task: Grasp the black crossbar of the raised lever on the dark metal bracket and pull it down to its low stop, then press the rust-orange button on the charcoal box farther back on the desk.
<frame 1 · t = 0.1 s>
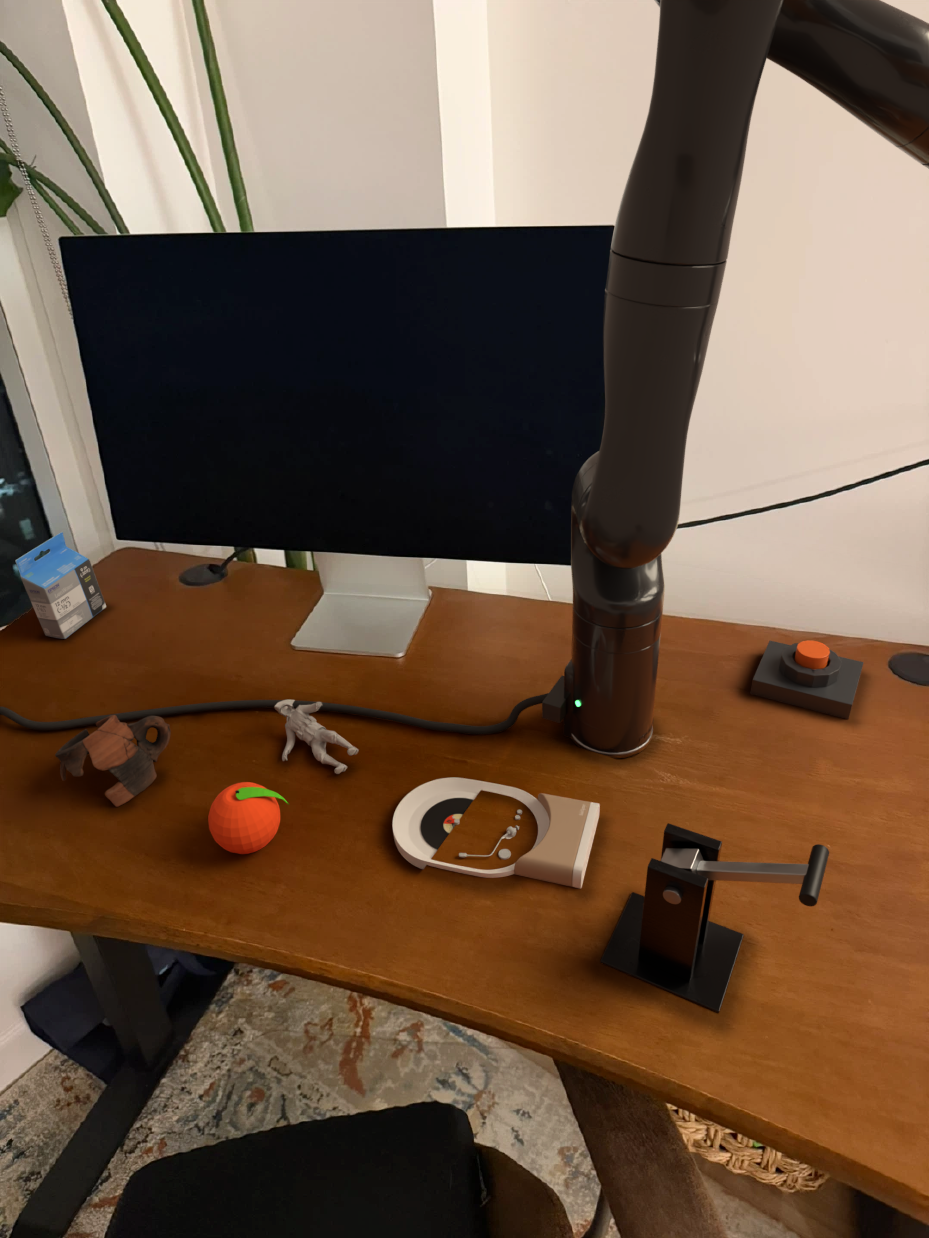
bracket: (671, 955, 72), on the table
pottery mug: (125, 775, 95), on the table
button: (812, 655, 100), point 4 cm above the table, slide at 0.1 cm
label tape box: (76, 623, 123), on the table
lever: (740, 871, 64), point 13 cm above the table, hinge at 25.0°
button box: (805, 685, 102), on the table
record player: (491, 838, 85), on the table
soldier figure: (317, 749, 97), on the table
clementine: (256, 842, 86), on the table
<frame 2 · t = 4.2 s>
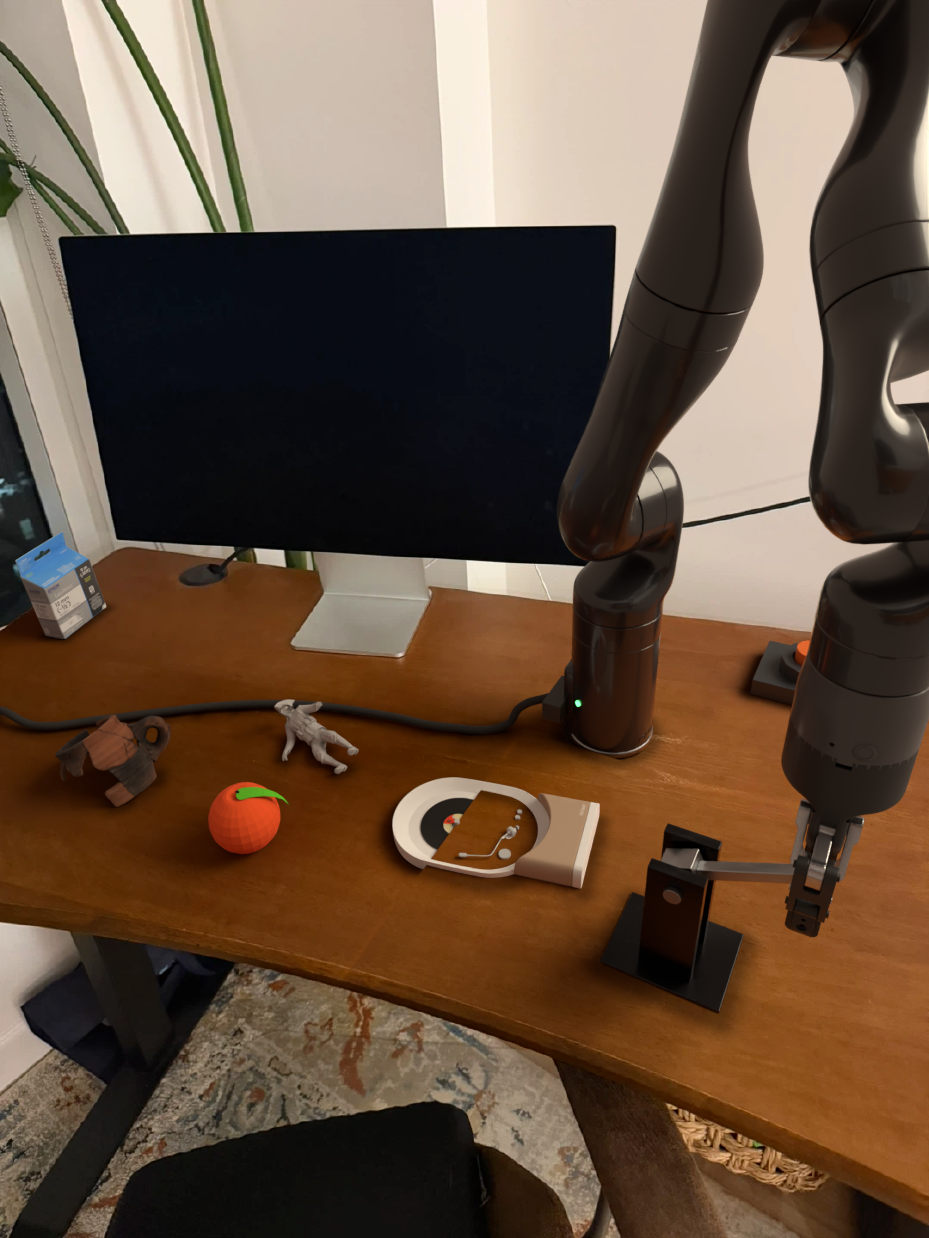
hand: (808, 899, 62), 13 cm above the table, tool pointing down, fingers closed on lever, 5 cm apart
lever: (740, 871, 64), point 13 cm above the table, hinge at 25.0°, touching gripper
everything else where it was.
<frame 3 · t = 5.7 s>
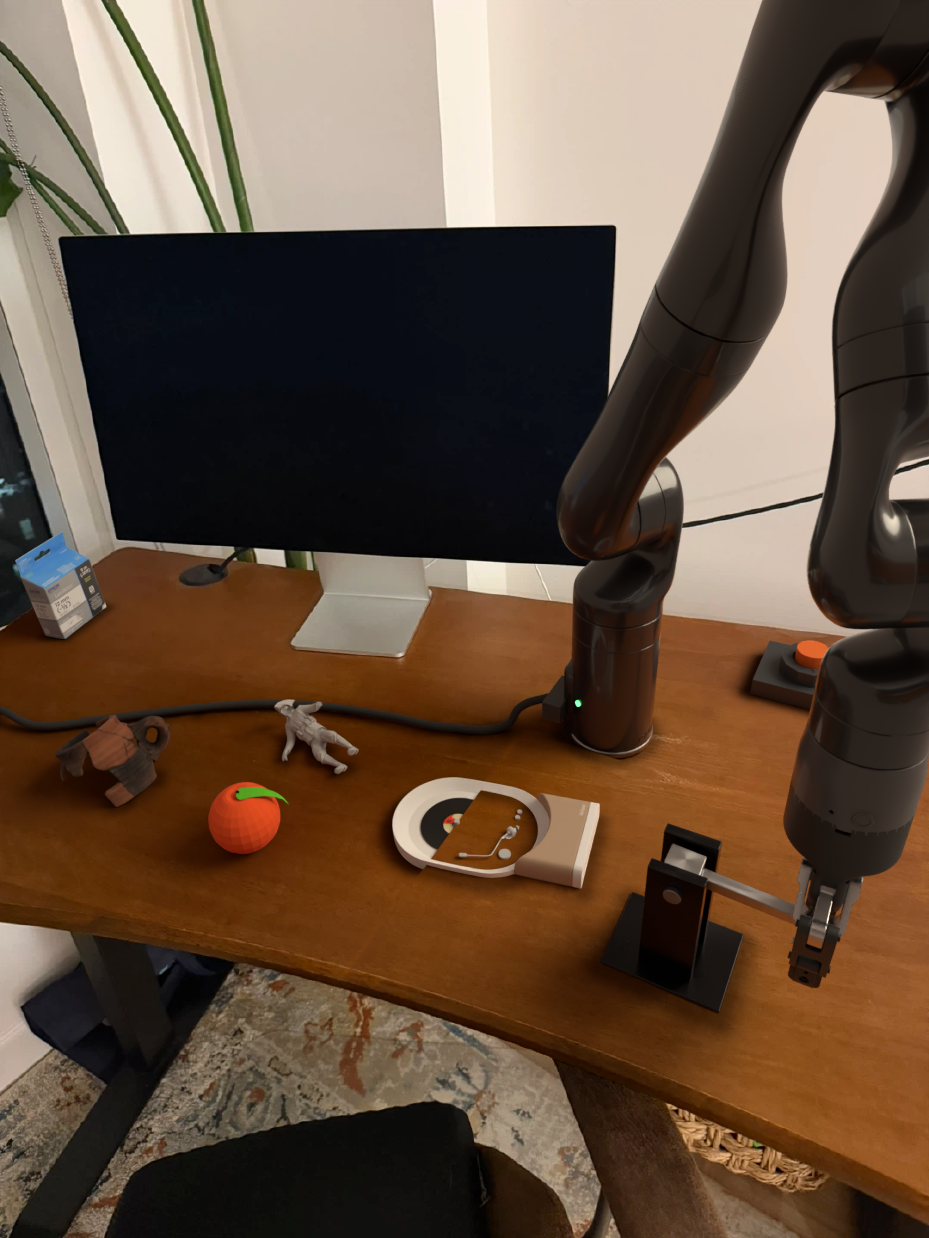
hand: (810, 949, 64), 7 cm above the table, tool pointing down, fingers closed on lever, 5 cm apart
lever: (742, 893, 65), point 11 cm above the table, hinge at -3.7°, touching gripper
everything else where it was.
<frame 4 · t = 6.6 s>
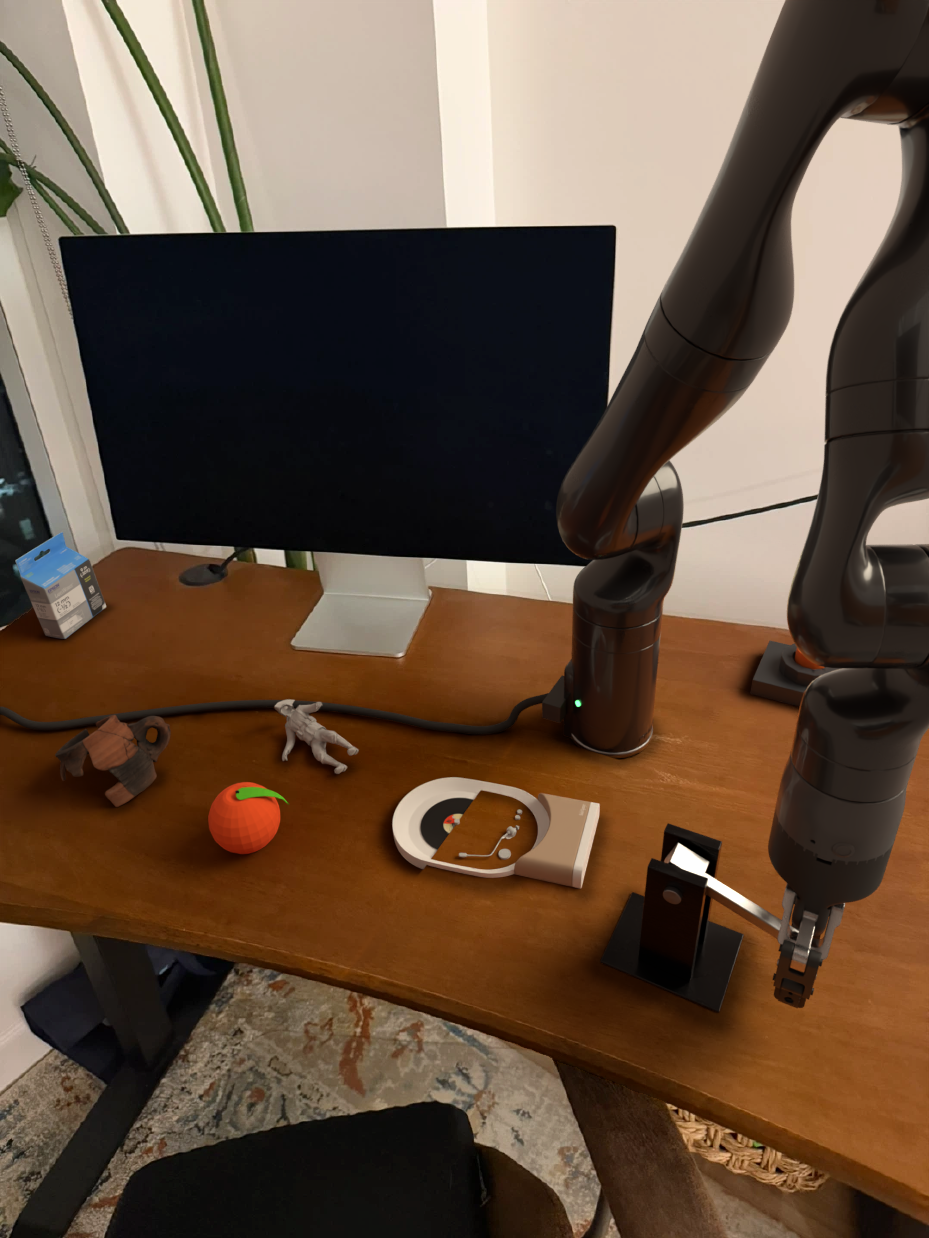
hand: (796, 969, 66), 4 cm above the table, tool pointing down, fingers closed on lever, 5 cm apart
lever: (736, 902, 65), point 9 cm above the table, hinge at -19.8°, touching gripper
everything else where it was.
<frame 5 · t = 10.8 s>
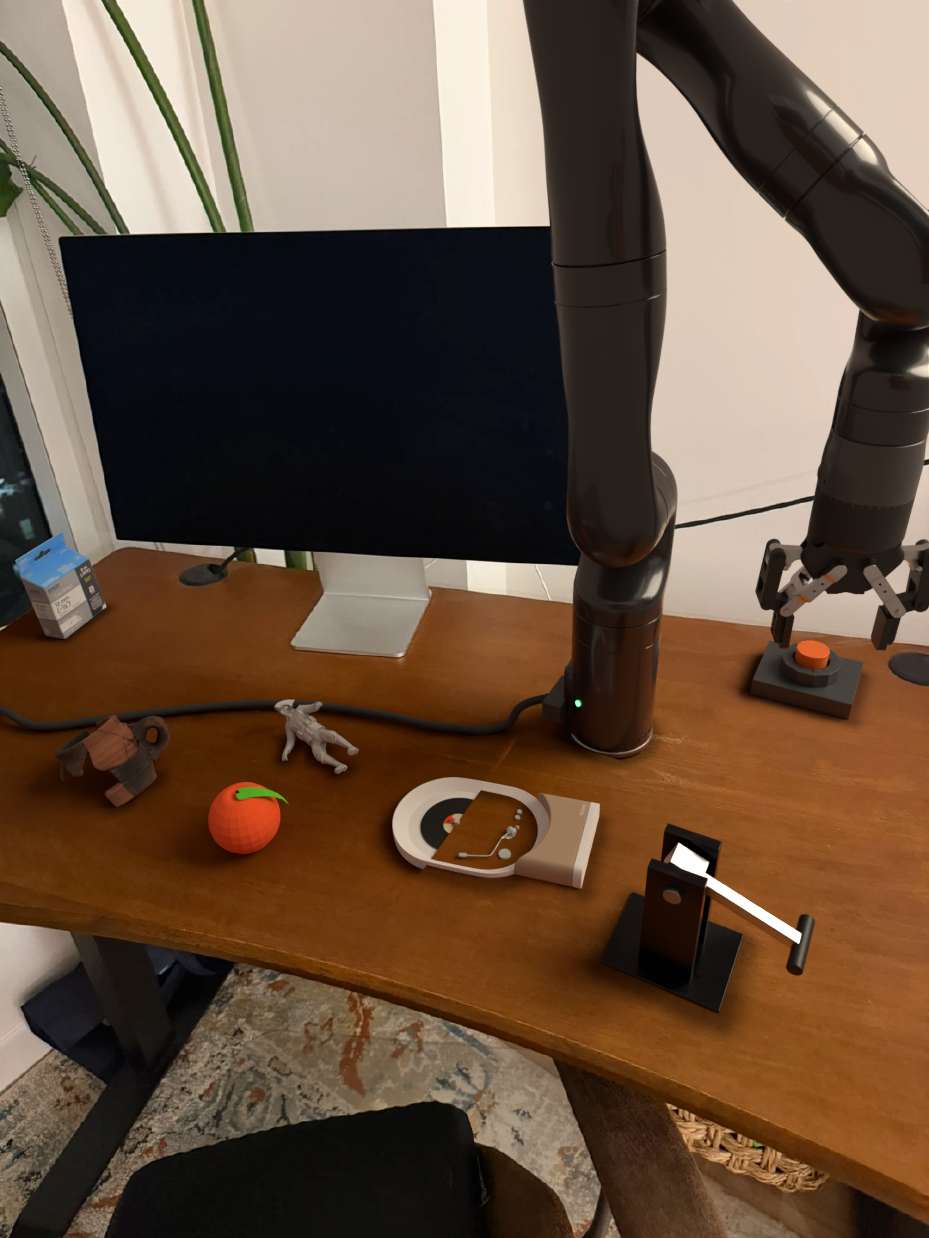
hand: (829, 644, 78), 18 cm above the table, tool pointing down, fingers open, 8 cm apart
lever: (736, 903, 65), point 9 cm above the table, hinge at -20.4°
everything else where it was.
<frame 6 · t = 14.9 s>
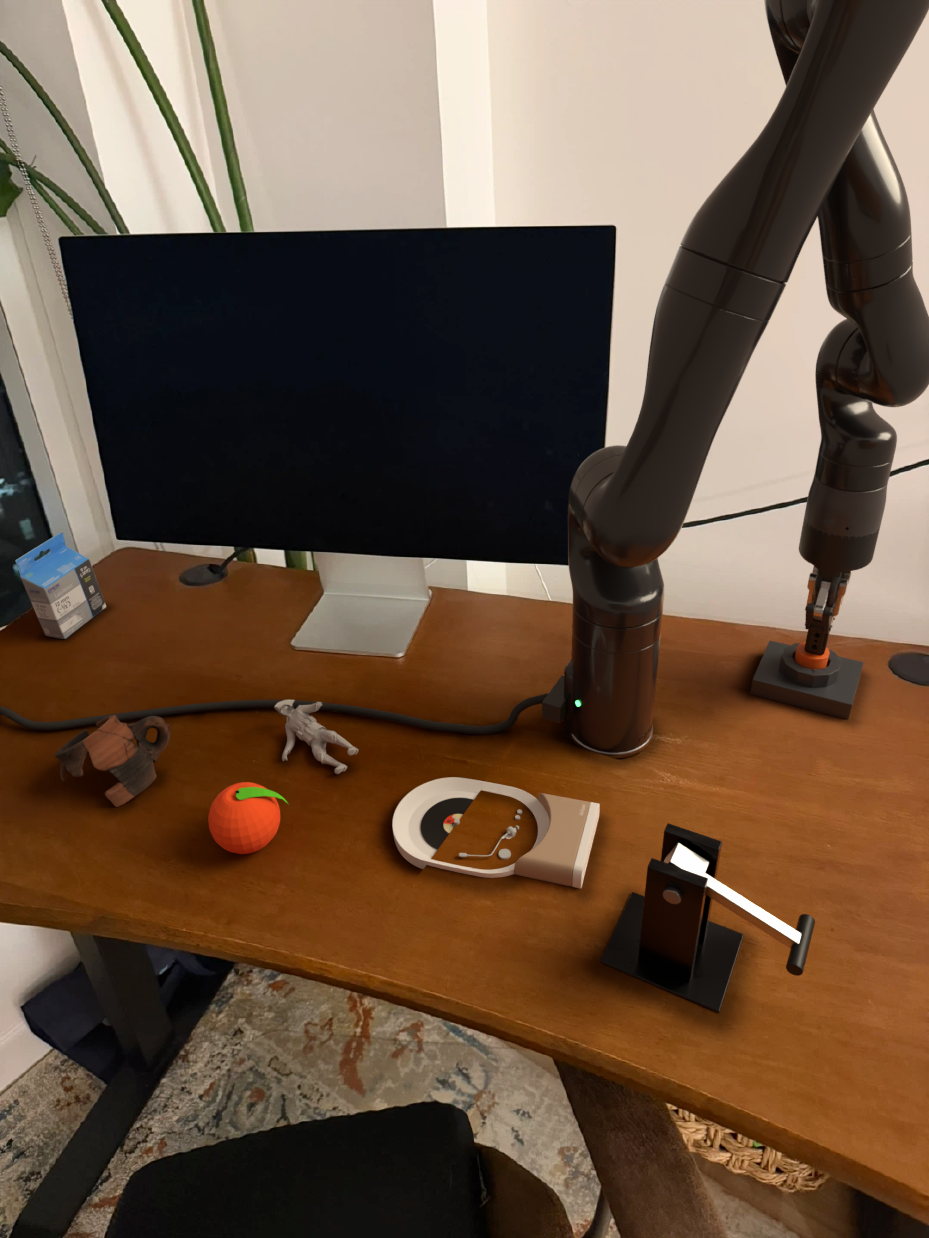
hand: (814, 650, 99), 5 cm above the table, tool pointing down, fingers closed
button: (811, 656, 100), point 4 cm above the table, slide at 0.0 cm, touching gripper
everything else where it was.
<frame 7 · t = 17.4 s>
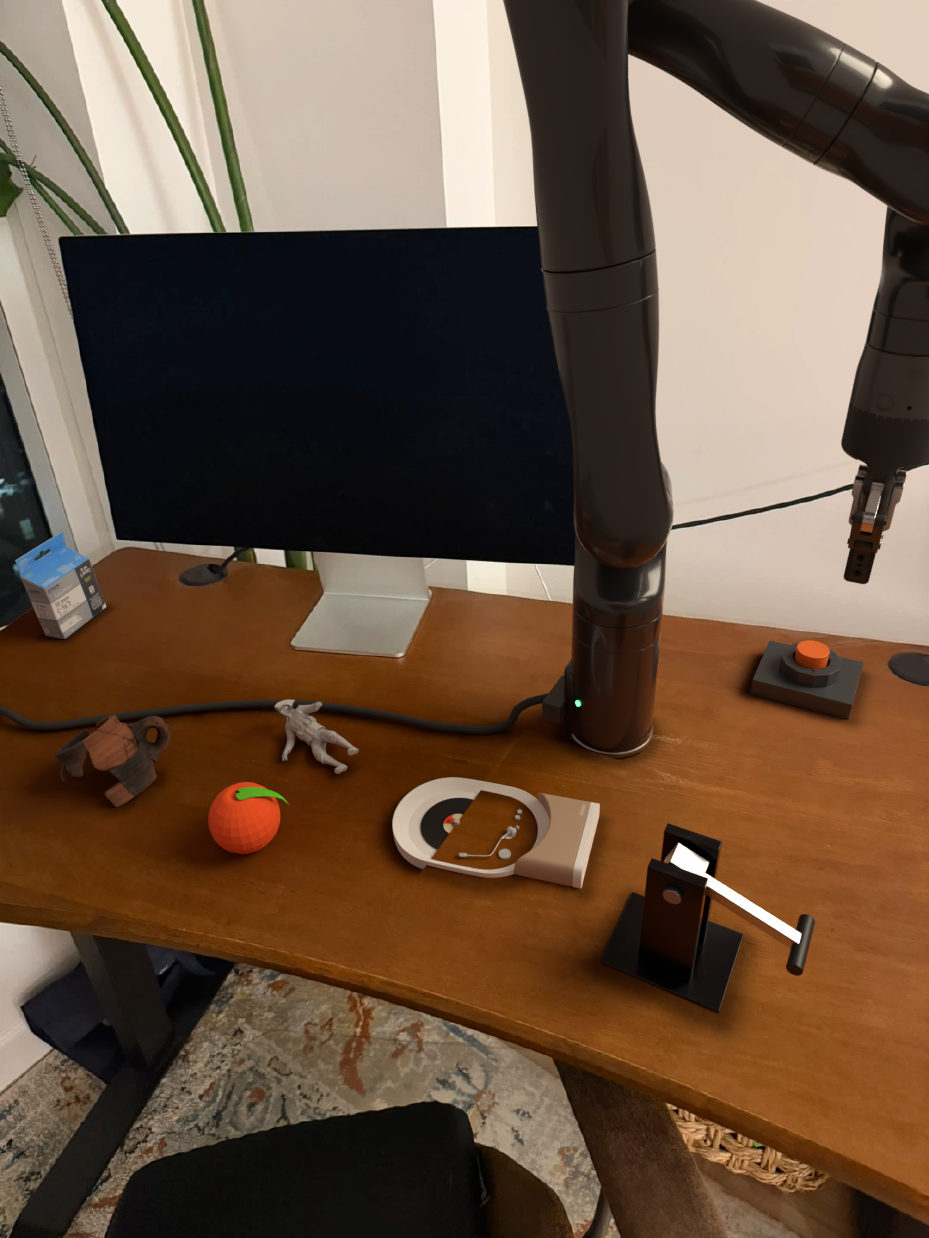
hand: (856, 578, 80), 22 cm above the table, tool pointing down, fingers closed
button: (812, 655, 100), point 4 cm above the table, slide at 0.1 cm
everything else where it was.
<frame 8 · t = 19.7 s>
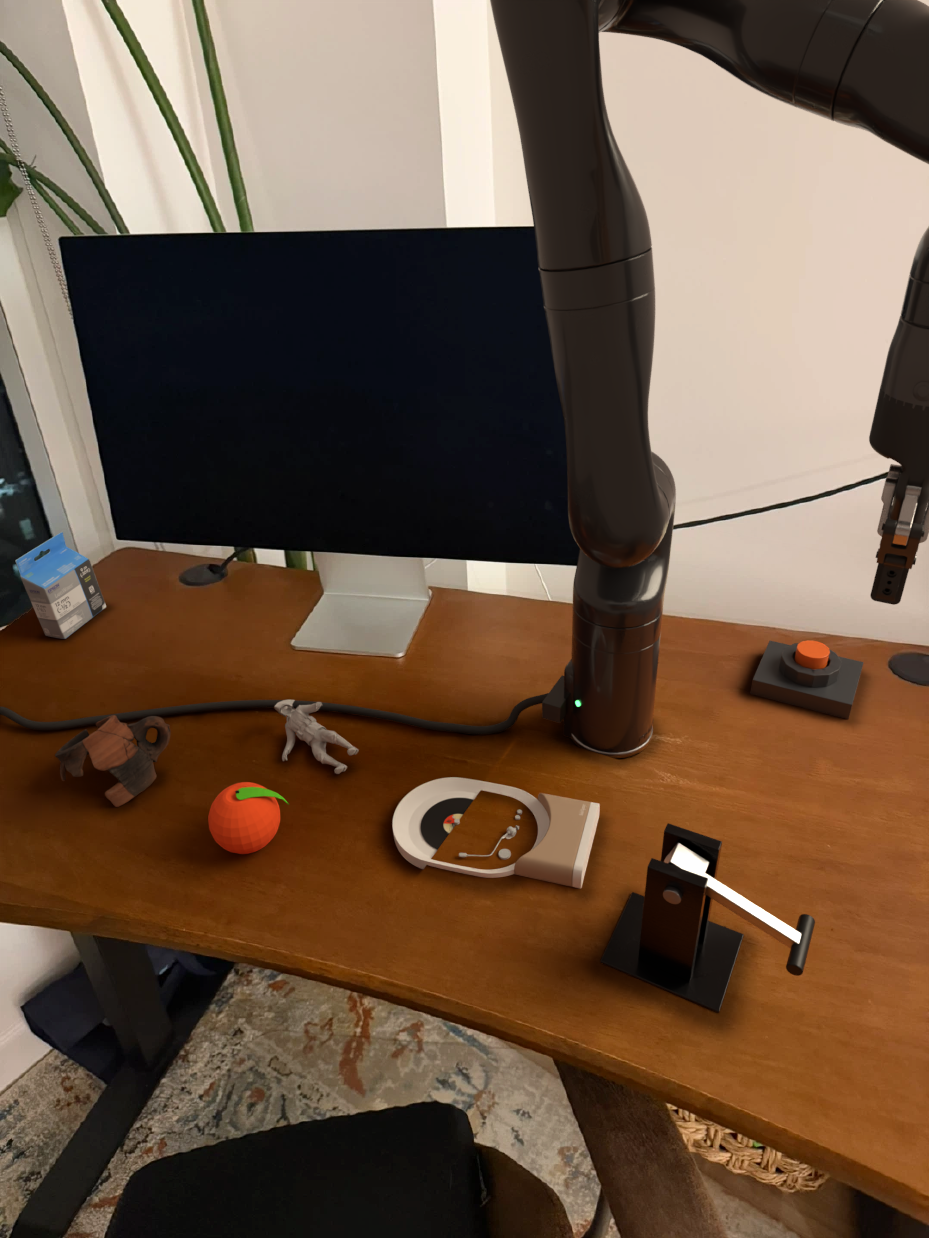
hand: (885, 598, 68), 27 cm above the table, tool pointing down, fingers closed
nothing on the table moved.
at the end: lever at -20° (first picture: +25°); button pushed in 1.2 cm at the most during the clip, back to where it started at the end; button slide at 0.1 cm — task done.
